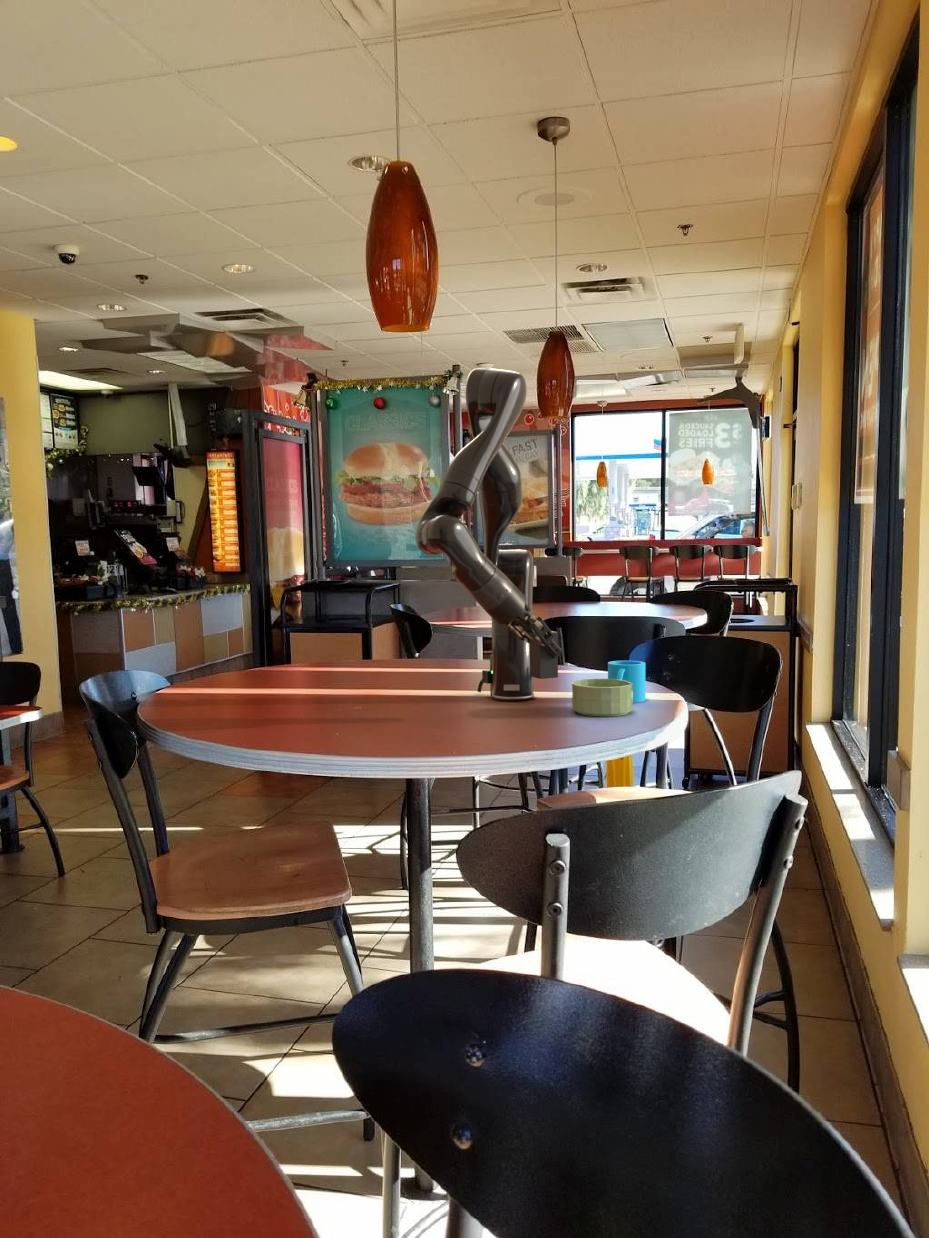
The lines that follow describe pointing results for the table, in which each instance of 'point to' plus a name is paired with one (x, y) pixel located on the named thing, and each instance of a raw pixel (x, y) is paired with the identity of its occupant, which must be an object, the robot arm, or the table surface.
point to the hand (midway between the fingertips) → (552, 653)
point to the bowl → (602, 697)
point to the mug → (630, 676)
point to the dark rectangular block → (543, 660)
